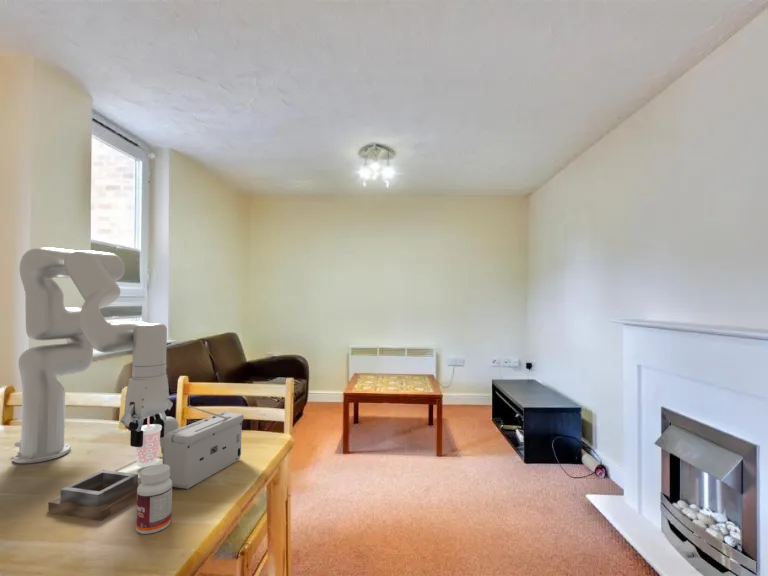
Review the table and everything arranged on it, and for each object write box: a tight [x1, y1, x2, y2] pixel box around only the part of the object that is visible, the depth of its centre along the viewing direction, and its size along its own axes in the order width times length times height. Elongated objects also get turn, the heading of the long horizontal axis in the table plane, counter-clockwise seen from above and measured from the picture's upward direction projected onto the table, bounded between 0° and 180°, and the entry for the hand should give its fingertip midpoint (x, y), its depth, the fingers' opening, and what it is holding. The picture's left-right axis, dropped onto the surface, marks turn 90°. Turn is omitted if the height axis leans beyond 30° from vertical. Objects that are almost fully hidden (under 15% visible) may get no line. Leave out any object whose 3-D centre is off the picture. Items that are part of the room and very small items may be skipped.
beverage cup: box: [135, 417, 162, 467], centre depth 102 cm, size 6×6×14 cm
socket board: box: [47, 456, 163, 521], centre depth 96 cm, size 14×26×4 cm, turn 167°
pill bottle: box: [135, 464, 173, 535], centre depth 80 cm, size 6×6×11 cm
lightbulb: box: [159, 415, 179, 455], centre depth 116 cm, size 6×6×11 cm
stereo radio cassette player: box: [162, 405, 245, 490], centre depth 105 cm, size 21×8×20 cm, turn 160°
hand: (147, 440), depth 102 cm, fingers closed on beverage cup, 6 cm apart
